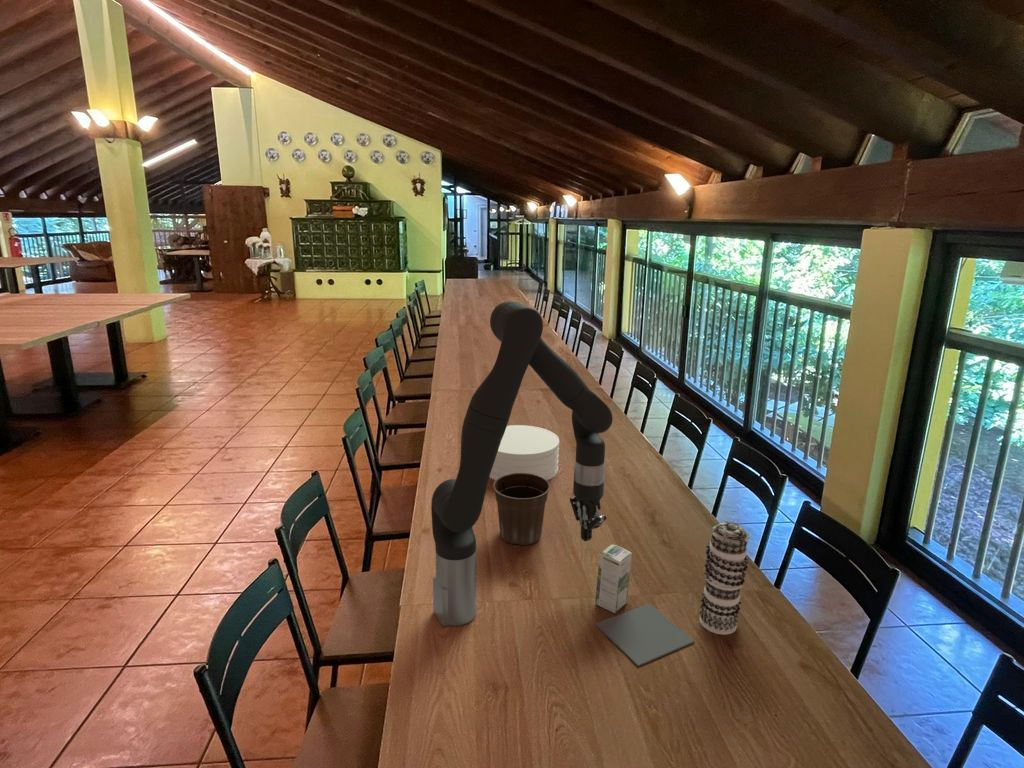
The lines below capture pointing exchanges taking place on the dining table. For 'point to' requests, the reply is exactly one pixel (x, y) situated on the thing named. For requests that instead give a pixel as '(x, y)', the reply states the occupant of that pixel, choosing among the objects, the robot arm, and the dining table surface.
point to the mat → (644, 634)
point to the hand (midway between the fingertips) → (586, 539)
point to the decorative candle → (724, 578)
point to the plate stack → (527, 452)
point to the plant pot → (521, 506)
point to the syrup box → (613, 578)
